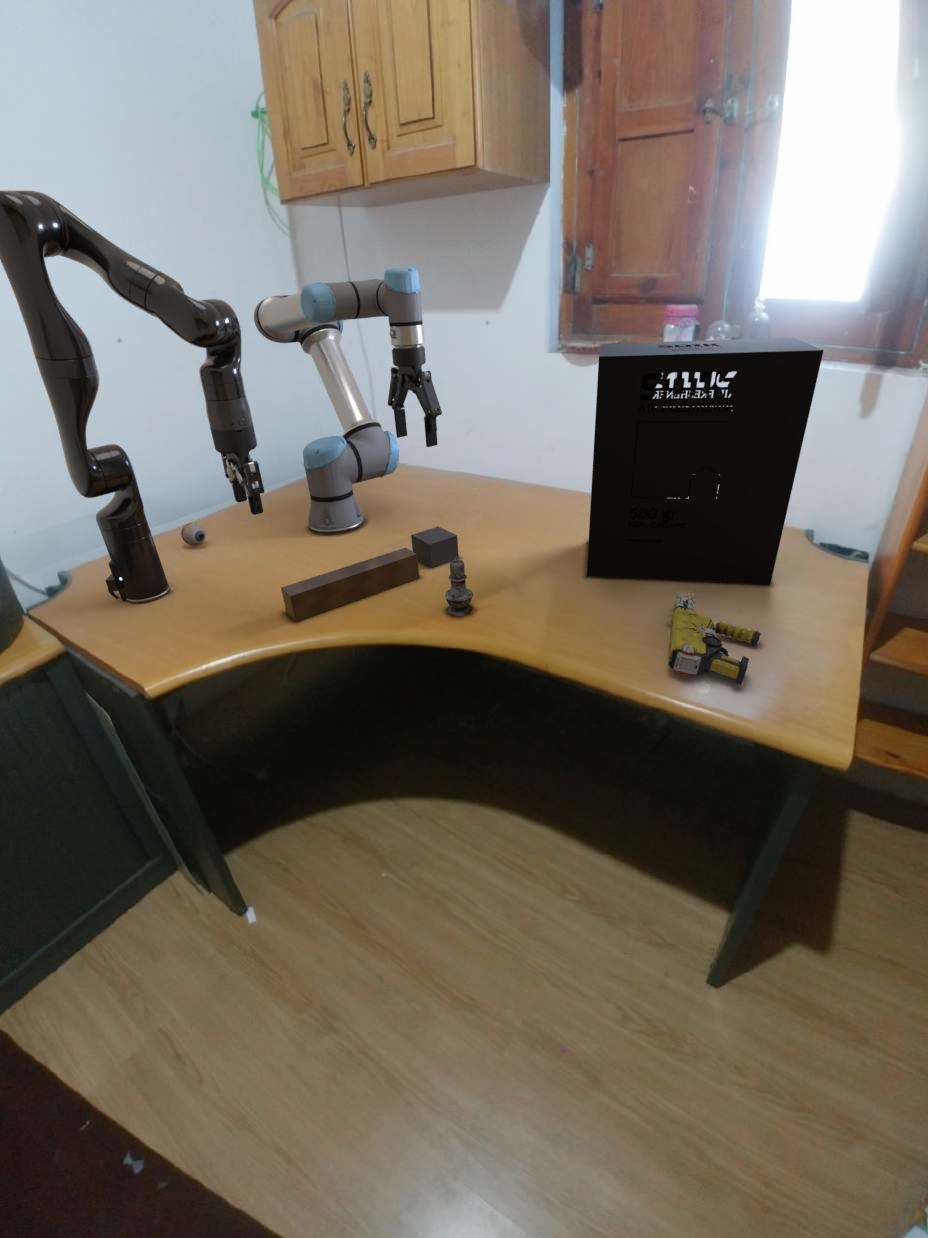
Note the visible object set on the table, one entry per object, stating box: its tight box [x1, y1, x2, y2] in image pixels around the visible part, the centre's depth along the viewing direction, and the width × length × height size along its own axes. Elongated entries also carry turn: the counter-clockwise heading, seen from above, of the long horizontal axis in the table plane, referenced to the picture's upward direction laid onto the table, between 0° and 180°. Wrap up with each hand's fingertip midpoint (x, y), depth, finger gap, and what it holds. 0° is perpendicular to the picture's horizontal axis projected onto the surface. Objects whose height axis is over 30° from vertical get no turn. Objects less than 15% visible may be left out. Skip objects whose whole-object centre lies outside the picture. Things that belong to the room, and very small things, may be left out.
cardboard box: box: [586, 337, 824, 586], centre depth 127 cm, size 38×20×45 cm, turn 78°
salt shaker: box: [444, 556, 474, 617], centre depth 120 cm, size 6×6×12 cm
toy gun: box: [667, 591, 761, 686], centre depth 106 cm, size 5×24×15 cm
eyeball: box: [180, 522, 207, 547], centre depth 160 cm, size 6×6×6 cm
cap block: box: [410, 525, 460, 569], centre depth 145 cm, size 8×8×6 cm
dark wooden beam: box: [280, 547, 420, 623], centre depth 130 cm, size 30×5×6 cm, turn 126°
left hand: (249, 507), depth 119 cm, fingers open, 8 cm apart
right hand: (416, 441), depth 147 cm, fingers open, 13 cm apart
